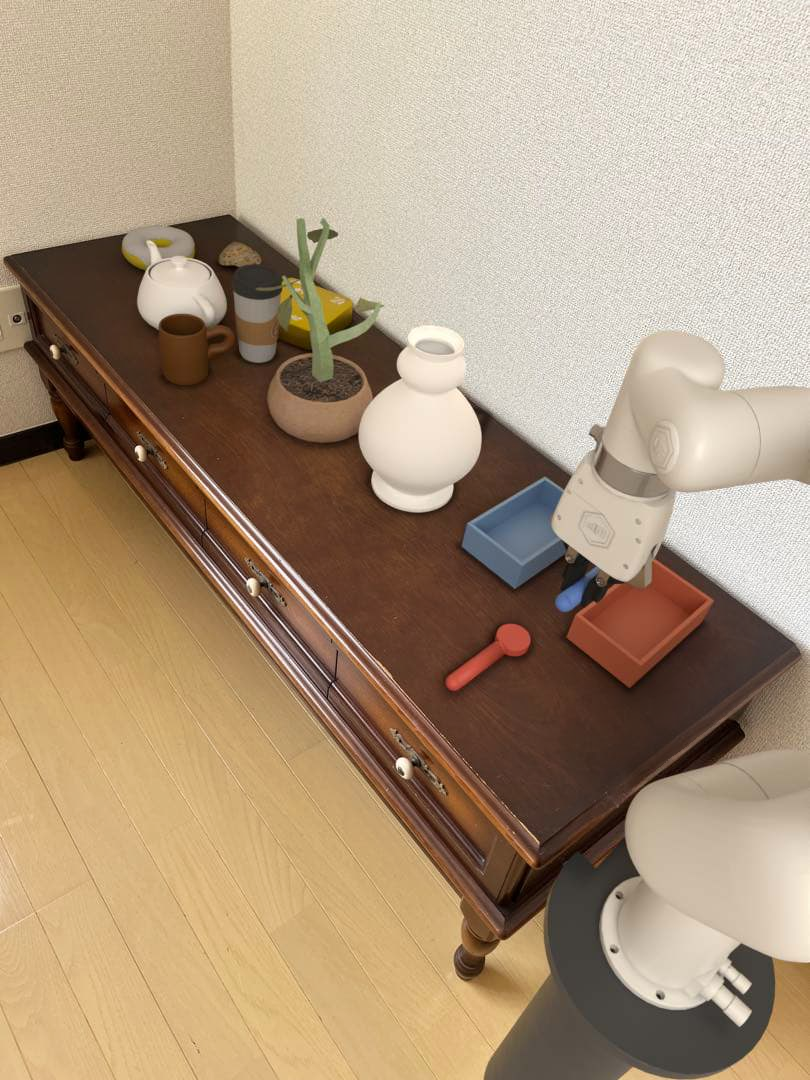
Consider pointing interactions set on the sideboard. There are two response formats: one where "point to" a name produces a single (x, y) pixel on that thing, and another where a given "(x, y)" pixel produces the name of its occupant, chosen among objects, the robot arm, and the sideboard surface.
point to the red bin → (639, 623)
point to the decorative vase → (422, 425)
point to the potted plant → (318, 361)
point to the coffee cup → (256, 311)
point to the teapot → (180, 290)
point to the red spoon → (491, 654)
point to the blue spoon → (574, 592)
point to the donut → (165, 240)
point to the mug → (189, 347)
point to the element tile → (333, 310)
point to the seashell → (239, 255)
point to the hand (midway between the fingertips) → (580, 591)
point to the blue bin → (518, 534)
